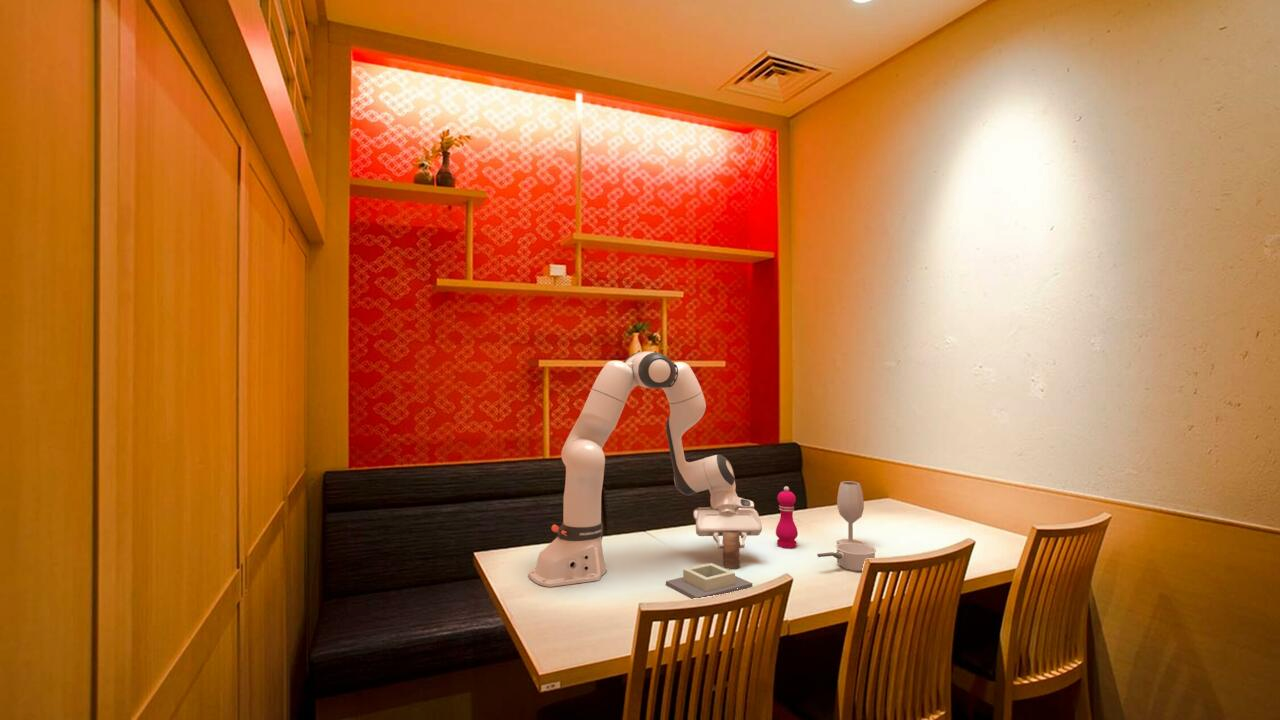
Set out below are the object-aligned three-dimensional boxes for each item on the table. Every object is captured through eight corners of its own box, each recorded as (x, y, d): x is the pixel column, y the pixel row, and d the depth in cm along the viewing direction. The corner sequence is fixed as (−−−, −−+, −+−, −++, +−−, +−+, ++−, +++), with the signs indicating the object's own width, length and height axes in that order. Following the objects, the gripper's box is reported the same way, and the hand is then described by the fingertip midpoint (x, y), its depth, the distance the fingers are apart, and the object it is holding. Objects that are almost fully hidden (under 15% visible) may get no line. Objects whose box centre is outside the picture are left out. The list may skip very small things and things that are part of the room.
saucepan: (805, 567, 178) (805, 548, 178) (856, 559, 186) (855, 541, 186) (832, 579, 167) (832, 560, 167) (884, 570, 175) (884, 551, 176)
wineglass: (831, 542, 203) (831, 481, 204) (853, 540, 206) (852, 480, 206) (847, 550, 195) (847, 486, 195) (870, 547, 198) (869, 484, 198)
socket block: (697, 601, 151) (697, 585, 151) (665, 584, 163) (665, 570, 163) (752, 586, 161) (752, 572, 161) (718, 572, 173) (718, 558, 173)
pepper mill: (798, 549, 195) (798, 488, 196) (775, 548, 197) (775, 488, 197) (797, 543, 202) (796, 484, 203) (775, 542, 204) (775, 484, 204)
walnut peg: (730, 570, 175) (730, 536, 175) (719, 565, 179) (719, 532, 179) (743, 567, 178) (742, 533, 178) (731, 562, 182) (731, 530, 182)
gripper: (693, 502, 185) (698, 542, 175) (758, 501, 186) (766, 541, 176) (691, 513, 189) (696, 553, 179) (755, 512, 190) (762, 552, 180)
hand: (731, 547), depth 178 cm, fingers closed on walnut peg, 5 cm apart
